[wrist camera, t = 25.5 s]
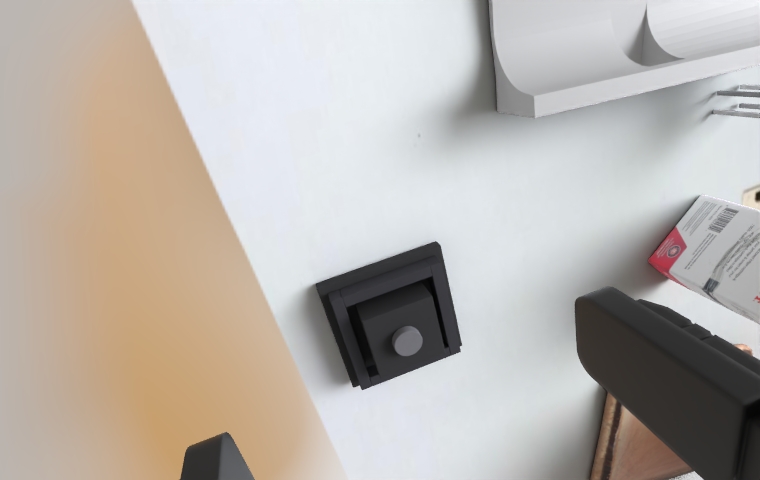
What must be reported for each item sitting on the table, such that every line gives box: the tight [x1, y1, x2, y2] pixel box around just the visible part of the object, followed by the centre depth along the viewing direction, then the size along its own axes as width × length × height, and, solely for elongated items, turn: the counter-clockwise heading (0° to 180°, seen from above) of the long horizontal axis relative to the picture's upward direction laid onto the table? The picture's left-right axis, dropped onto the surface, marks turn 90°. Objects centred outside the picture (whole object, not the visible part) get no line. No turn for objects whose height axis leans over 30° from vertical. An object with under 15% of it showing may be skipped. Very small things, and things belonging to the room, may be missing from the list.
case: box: [590, 344, 752, 480], centre depth 48 cm, size 20×21×16 cm
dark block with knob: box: [355, 281, 445, 378], centre depth 37 cm, size 6×6×4 cm
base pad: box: [316, 242, 462, 390], centre depth 38 cm, size 11×11×2 cm
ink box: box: [648, 195, 760, 324], centre depth 39 cm, size 8×5×12 cm, turn 145°
